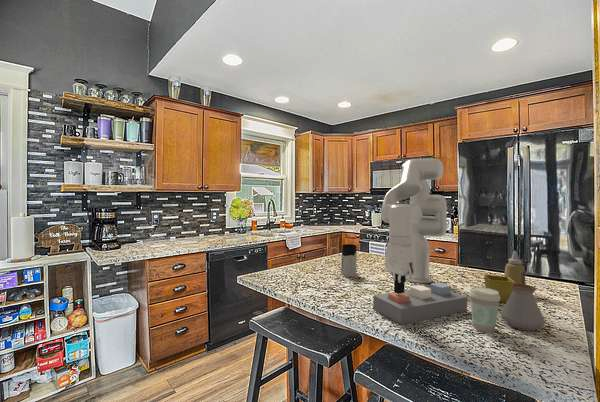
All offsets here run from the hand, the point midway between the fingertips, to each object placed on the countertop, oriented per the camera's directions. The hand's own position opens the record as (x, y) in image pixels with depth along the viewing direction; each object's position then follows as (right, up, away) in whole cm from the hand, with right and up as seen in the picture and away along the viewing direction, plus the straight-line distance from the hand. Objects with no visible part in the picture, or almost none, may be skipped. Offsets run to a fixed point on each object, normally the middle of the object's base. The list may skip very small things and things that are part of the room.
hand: (399, 292), depth 104 cm
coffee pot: (+40, -8, -4) cm, 41 cm away
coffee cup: (+23, -8, -11) cm, 27 cm away
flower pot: (+45, -8, +16) cm, 48 cm away
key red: (0, -6, 0) cm, 6 cm away
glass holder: (-12, -6, +53) cm, 54 cm away
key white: (+9, -5, +4) cm, 11 cm away
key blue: (+18, -5, +8) cm, 20 cm away
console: (+9, -8, +4) cm, 12 cm away
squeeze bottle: (+59, -8, +26) cm, 65 cm away
